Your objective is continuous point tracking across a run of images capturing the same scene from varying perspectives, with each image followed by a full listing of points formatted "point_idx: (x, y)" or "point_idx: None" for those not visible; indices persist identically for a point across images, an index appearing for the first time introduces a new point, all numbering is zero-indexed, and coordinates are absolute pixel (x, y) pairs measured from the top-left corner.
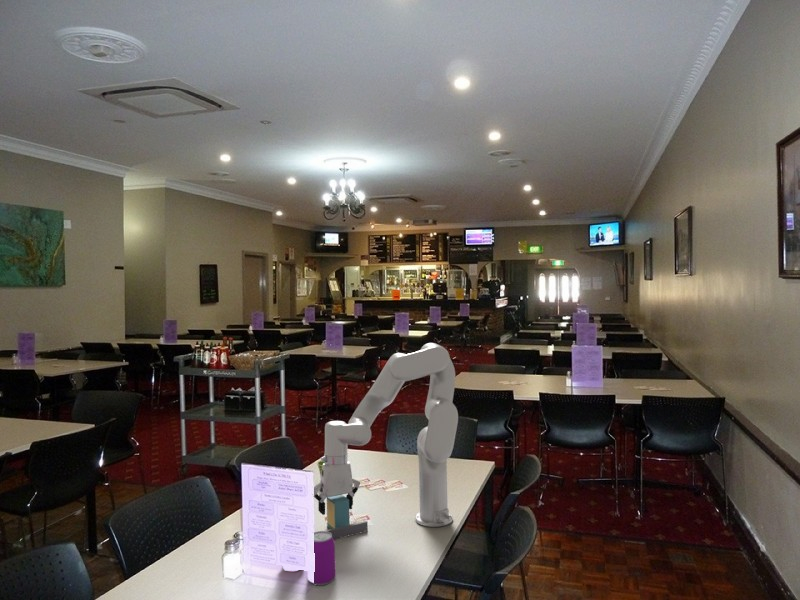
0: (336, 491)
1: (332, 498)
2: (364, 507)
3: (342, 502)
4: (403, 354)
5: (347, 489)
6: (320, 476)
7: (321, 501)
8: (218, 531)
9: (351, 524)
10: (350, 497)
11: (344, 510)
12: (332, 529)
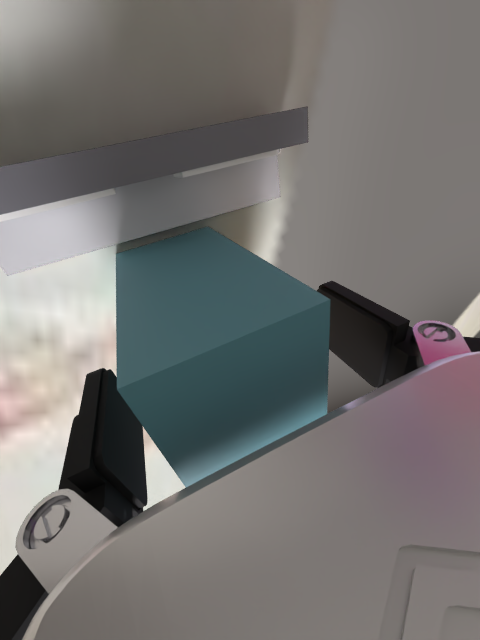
0: (421, 462)
1: (305, 415)
2: (29, 504)
3: (222, 331)
4: None
5: (160, 624)
6: None
7: (433, 329)
8: (468, 330)
9: (97, 180)
10: (93, 472)
11: (173, 294)
12: (268, 134)
